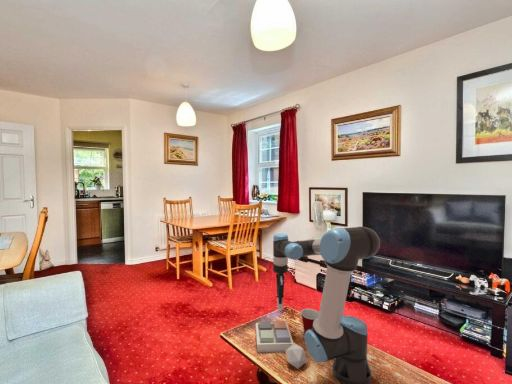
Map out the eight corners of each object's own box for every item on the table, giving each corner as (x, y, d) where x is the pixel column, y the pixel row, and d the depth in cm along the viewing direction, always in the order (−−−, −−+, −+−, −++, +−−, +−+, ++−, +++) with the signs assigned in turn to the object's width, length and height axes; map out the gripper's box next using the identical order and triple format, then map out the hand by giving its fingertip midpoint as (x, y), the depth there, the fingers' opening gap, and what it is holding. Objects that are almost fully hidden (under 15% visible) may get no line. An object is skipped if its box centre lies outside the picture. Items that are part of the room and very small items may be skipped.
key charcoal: (271, 332, 144) (271, 327, 144) (259, 333, 143) (259, 328, 143) (270, 325, 151) (270, 321, 151) (259, 325, 150) (259, 321, 150)
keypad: (293, 352, 133) (293, 343, 133) (257, 352, 132) (257, 344, 132) (287, 329, 153) (287, 322, 153) (255, 330, 152) (255, 323, 152)
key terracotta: (286, 332, 144) (286, 327, 144) (274, 332, 144) (274, 327, 144) (284, 325, 151) (284, 320, 151) (273, 325, 151) (273, 320, 151)
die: (310, 368, 123) (306, 342, 129) (303, 367, 116) (299, 340, 122) (293, 370, 126) (289, 344, 132) (284, 370, 119) (281, 343, 125)
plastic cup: (319, 343, 141) (319, 319, 140) (298, 338, 145) (298, 315, 144) (323, 332, 150) (323, 310, 150) (303, 328, 155) (303, 306, 154)
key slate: (289, 342, 135) (289, 337, 135) (276, 342, 135) (276, 337, 135) (287, 334, 142) (287, 329, 142) (275, 334, 142) (275, 329, 142)
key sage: (273, 342, 135) (273, 337, 135) (260, 343, 134) (260, 337, 134) (272, 335, 142) (272, 329, 142) (260, 335, 141) (260, 330, 141)
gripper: (271, 260, 152) (271, 303, 153) (274, 267, 139) (273, 315, 140) (285, 260, 153) (285, 303, 154) (289, 267, 140) (289, 314, 141)
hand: (279, 308), depth 147 cm, fingers closed
